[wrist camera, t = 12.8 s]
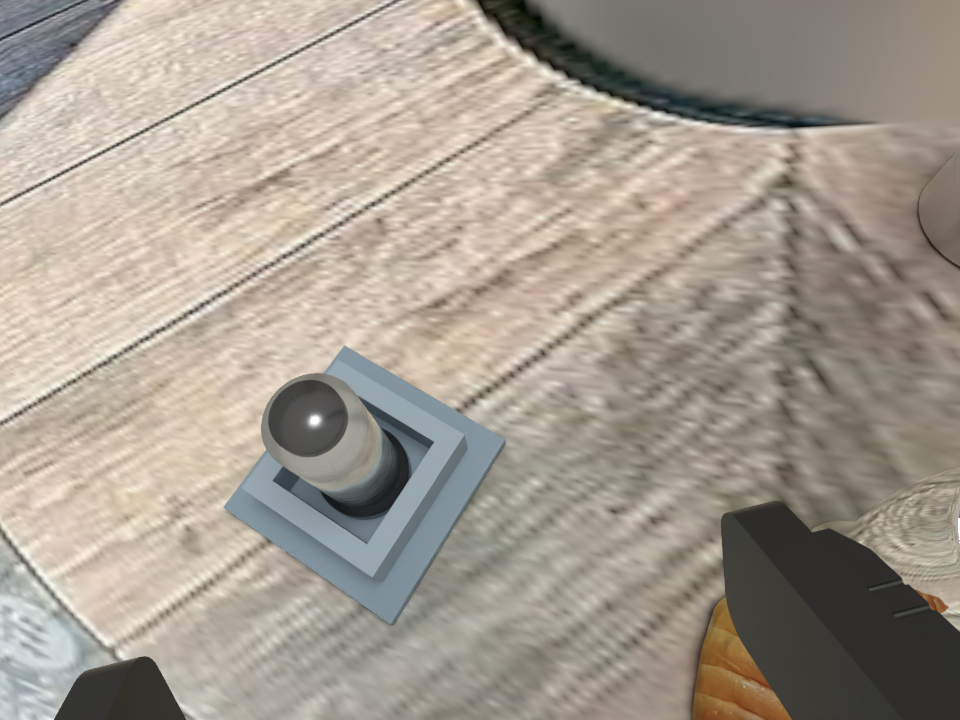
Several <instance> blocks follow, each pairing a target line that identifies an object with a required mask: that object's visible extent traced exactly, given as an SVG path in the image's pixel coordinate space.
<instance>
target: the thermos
mask: <svg viewBox="0 0 960 720" xmlns="http://www.w3.org/2000/svg"><path fill="white" fill-rule="evenodd" d="M261 433H262V439H263V442H264V445H265V447H266V449H267V451H268V453H269V454H270V455H271V457H272V458H273V459H274V460H275V461H277V462H278V463H279V464H281V465H282V466H284V467H285V468H287V469H288V470H290V471H291V472H293V473H294V474H296V475H297V476H299V477H301V478H302V479H304V480H305V481H307V482H308V483H310V484H311V485H313V486H314V487H316V488H317V489H319V490H320V492H321V494H322V496H323V497H324V499H325V500H326V501H327V503H328V504H329V505H331V506H332V507H333V508H334V509H336V510H337V511H339V512H341V513H342V514H344V515H346V516H348V517H351V518H354V519H359V520H370V519H375V518H378V517H381V516H384V515H386V514H387V513H388V512H389V510H390V509H391V507H392V505H393V504H394V502H395V501H396V499H397V498H398V496H399V495H400V493H401V492H402V490H403V489H404V487H405V486H406V484H407V483H408V481H409V480H410V478H411V476H412V469H411V463H410V459H409V457H408V454H407V452H406V451H405V449H404V448H403V446H402V445H401V443H400V442H399V441H398V439H397V438H396V437H395V436H394V435H393V434H391V433H390V432H388V431H387V430H385V429H383V428H380V426H379V425H378V424H377V422H376V421H375V419H374V418H373V417H372V415H371V414H370V413H369V411H368V410H367V408H366V407H365V406H364V404H363V403H362V402H361V400H360V399H359V397H358V396H357V395H356V393H355V392H354V391H353V389H352V388H351V387H350V386H349V385H348V384H347V383H345V382H344V381H342V380H341V379H339V378H337V377H335V376H331V375H328V374H319V373H315V374H307V375H303V376H300V377H297V378H295V379H293V380H291V381H289V382H287V383H286V384H285V385H283V386H282V387H281V388H280V389H279V390H278V391H277V392H276V393H275V394H274V395H273V396H272V398H271V399H270V401H269V402H268V404H267V406H266V408H265V411H264V414H263V417H262V424H261Z"/></svg>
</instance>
